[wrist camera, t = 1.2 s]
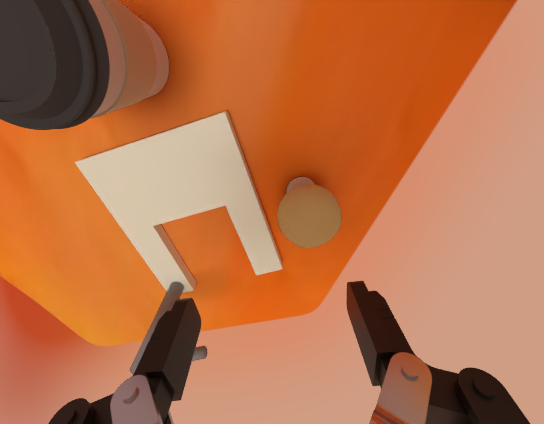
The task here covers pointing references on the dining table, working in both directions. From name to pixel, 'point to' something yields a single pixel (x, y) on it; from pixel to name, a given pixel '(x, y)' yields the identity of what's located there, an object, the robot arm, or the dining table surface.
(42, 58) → the coffee cup
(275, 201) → the dining table surface
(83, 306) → the dining table surface
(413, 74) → the dining table surface
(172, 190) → the cream u-shaped stand
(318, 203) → the light bulb
